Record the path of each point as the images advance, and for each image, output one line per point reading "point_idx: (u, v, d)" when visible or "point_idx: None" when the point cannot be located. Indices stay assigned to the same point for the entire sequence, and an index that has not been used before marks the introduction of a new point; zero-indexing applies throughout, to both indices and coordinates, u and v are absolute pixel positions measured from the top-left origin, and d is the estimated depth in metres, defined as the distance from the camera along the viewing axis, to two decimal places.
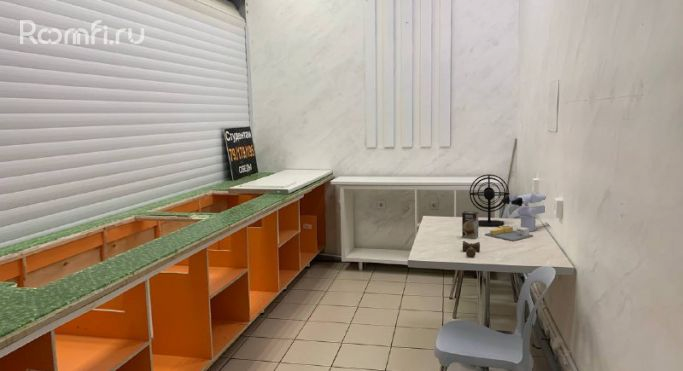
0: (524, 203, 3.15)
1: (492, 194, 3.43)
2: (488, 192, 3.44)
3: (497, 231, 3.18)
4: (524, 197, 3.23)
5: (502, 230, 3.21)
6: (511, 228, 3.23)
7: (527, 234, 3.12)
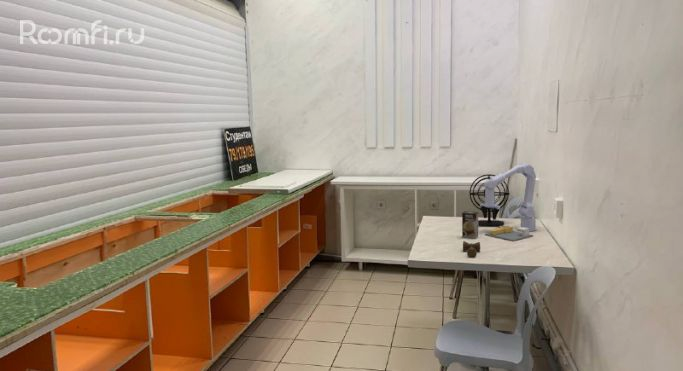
0: (499, 208, 3.20)
1: None
2: None
3: (497, 231, 3.18)
4: (488, 197, 3.22)
5: (502, 230, 3.21)
6: (511, 228, 3.23)
7: (527, 234, 3.12)
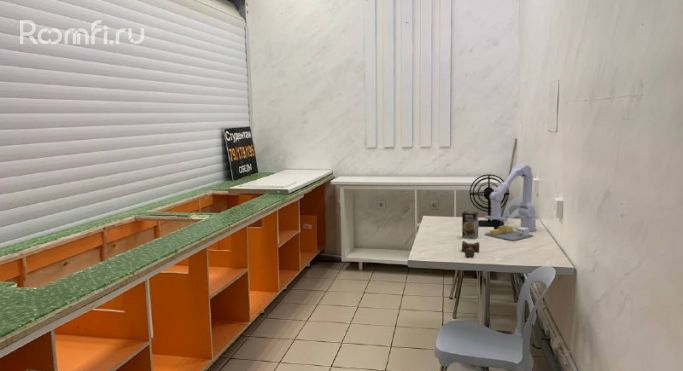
0: None
1: None
2: (488, 192, 3.44)
3: (497, 231, 3.18)
4: (495, 210, 3.19)
5: (502, 230, 3.20)
6: (511, 228, 3.23)
7: (527, 234, 3.12)
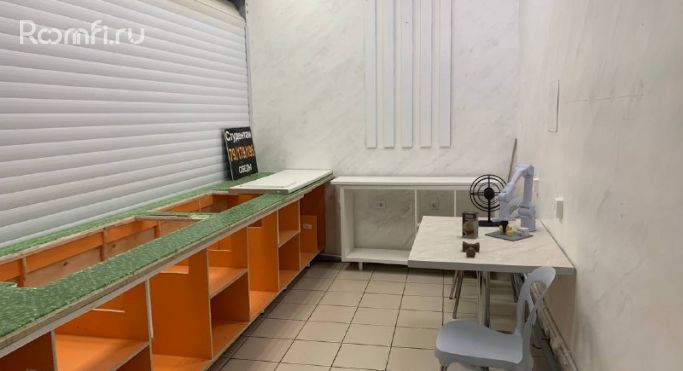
0: None
1: (492, 194, 3.43)
2: (488, 192, 3.44)
3: None
4: (505, 211, 3.14)
5: None
6: None
7: (527, 234, 3.12)
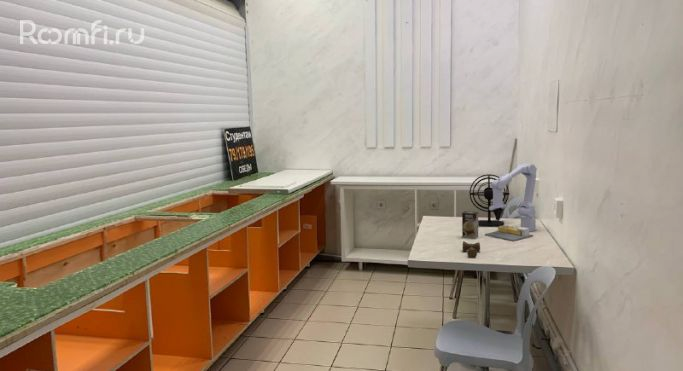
0: (504, 206, 3.23)
1: (492, 194, 3.43)
2: (488, 192, 3.44)
3: None
4: (498, 198, 3.15)
5: None
6: None
7: (527, 234, 3.12)
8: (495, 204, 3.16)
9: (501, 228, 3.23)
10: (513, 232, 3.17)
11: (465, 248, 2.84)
